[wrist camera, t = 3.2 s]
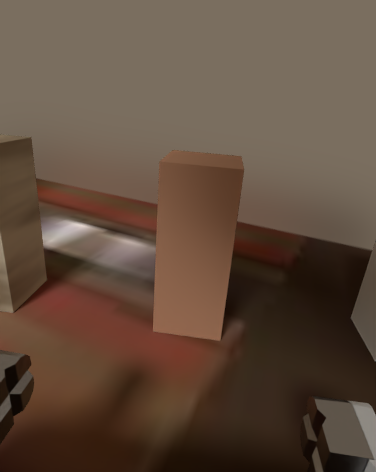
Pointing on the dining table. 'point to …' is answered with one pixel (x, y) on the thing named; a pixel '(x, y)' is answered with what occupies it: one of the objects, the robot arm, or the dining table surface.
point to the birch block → (19, 224)
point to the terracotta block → (195, 241)
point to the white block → (367, 306)
